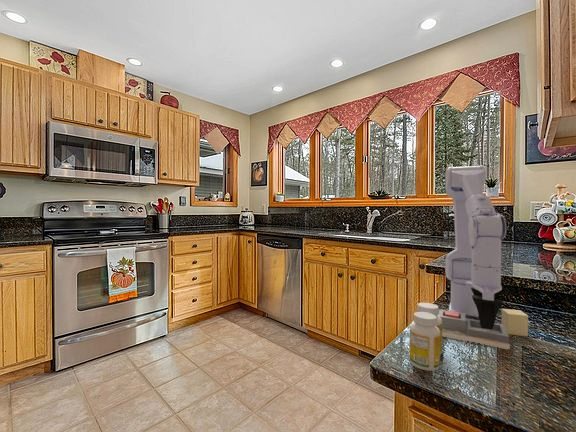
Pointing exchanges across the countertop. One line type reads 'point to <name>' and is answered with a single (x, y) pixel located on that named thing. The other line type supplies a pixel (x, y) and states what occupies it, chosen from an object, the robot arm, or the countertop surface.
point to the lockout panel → (473, 331)
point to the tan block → (515, 322)
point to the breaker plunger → (452, 314)
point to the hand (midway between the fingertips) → (485, 322)
